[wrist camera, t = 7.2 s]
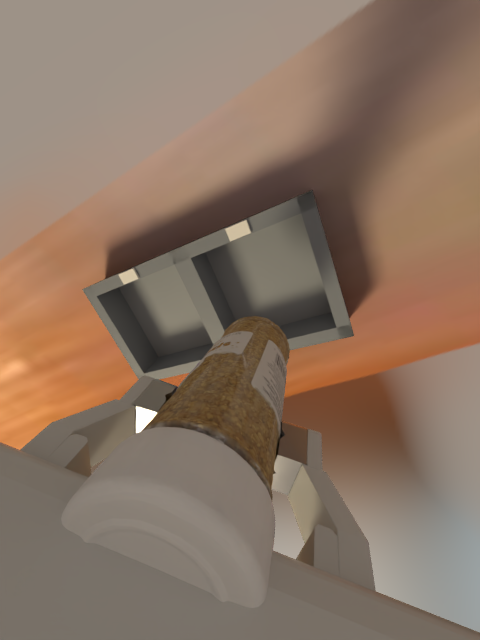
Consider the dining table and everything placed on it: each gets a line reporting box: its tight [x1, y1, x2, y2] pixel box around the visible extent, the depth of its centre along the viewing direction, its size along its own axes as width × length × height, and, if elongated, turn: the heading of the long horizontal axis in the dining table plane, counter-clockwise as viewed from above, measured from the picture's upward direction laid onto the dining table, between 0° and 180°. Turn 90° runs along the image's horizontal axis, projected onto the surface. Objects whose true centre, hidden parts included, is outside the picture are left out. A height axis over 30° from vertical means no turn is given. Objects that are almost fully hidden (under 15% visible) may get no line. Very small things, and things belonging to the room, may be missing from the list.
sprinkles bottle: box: [61, 316, 290, 608], centre depth 12 cm, size 5×5×13 cm
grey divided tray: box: [82, 190, 354, 380], centre depth 24 cm, size 20×10×4 cm, turn 113°
